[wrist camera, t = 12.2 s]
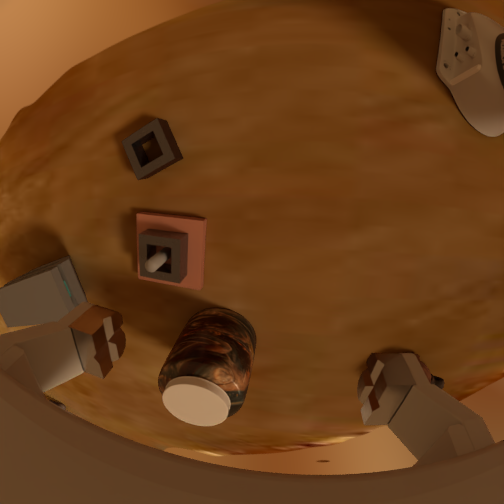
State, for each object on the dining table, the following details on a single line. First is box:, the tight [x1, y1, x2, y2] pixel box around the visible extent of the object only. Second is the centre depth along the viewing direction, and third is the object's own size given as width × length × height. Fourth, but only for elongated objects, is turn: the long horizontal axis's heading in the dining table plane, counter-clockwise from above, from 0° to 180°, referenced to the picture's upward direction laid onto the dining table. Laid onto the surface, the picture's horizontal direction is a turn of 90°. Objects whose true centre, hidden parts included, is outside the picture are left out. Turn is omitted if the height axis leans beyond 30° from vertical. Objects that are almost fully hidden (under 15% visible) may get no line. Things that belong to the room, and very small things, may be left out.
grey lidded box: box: [0, 256, 88, 327], centre depth 40 cm, size 25×8×11 cm, turn 106°
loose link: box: [122, 118, 183, 180], centre depth 34 cm, size 6×6×3 cm
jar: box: [158, 308, 256, 426], centre depth 36 cm, size 12×12×15 cm
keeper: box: [137, 212, 207, 290], centre depth 36 cm, size 10×10×7 cm
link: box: [139, 228, 188, 284], centre depth 36 cm, size 6×6×3 cm
